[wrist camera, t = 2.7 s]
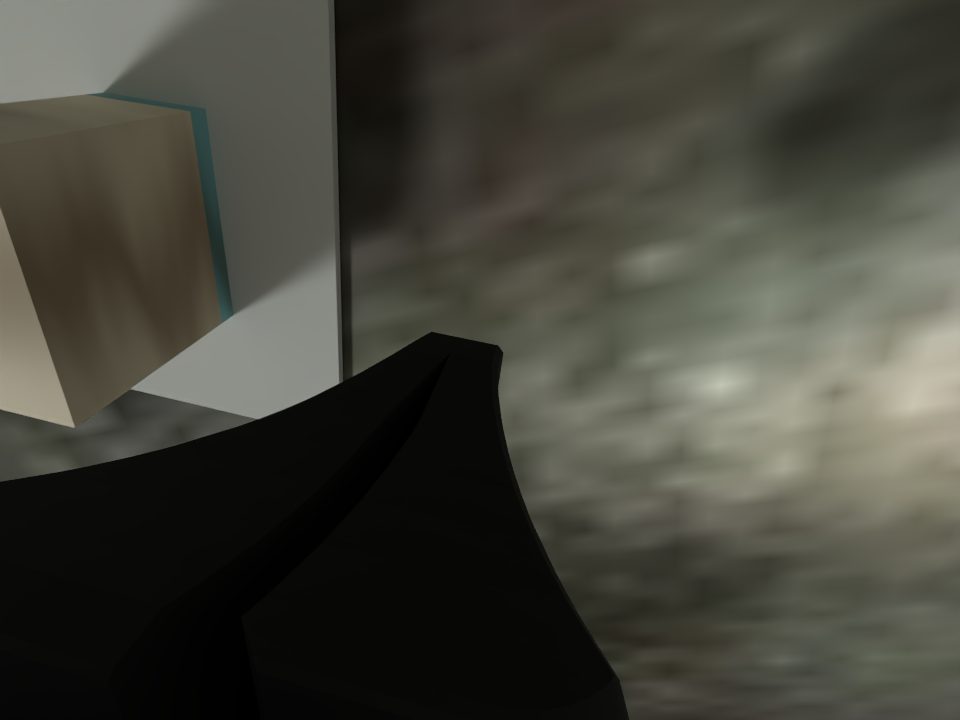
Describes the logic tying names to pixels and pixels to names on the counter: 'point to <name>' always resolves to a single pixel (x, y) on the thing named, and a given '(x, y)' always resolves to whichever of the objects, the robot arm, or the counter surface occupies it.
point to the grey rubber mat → (224, 166)
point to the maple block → (103, 248)
